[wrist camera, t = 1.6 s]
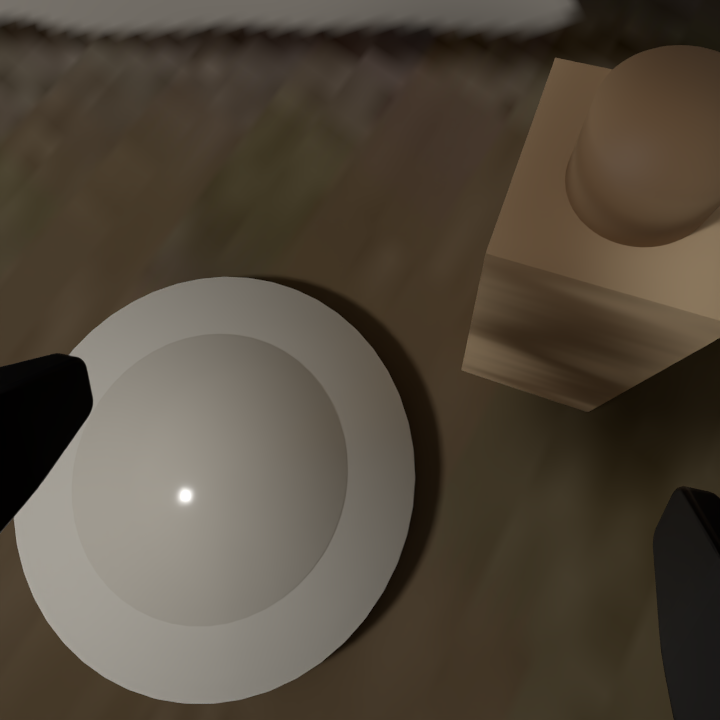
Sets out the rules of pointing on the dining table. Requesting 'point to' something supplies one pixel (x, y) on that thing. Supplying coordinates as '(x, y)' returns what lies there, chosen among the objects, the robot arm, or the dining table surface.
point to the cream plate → (221, 493)
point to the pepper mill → (607, 232)
